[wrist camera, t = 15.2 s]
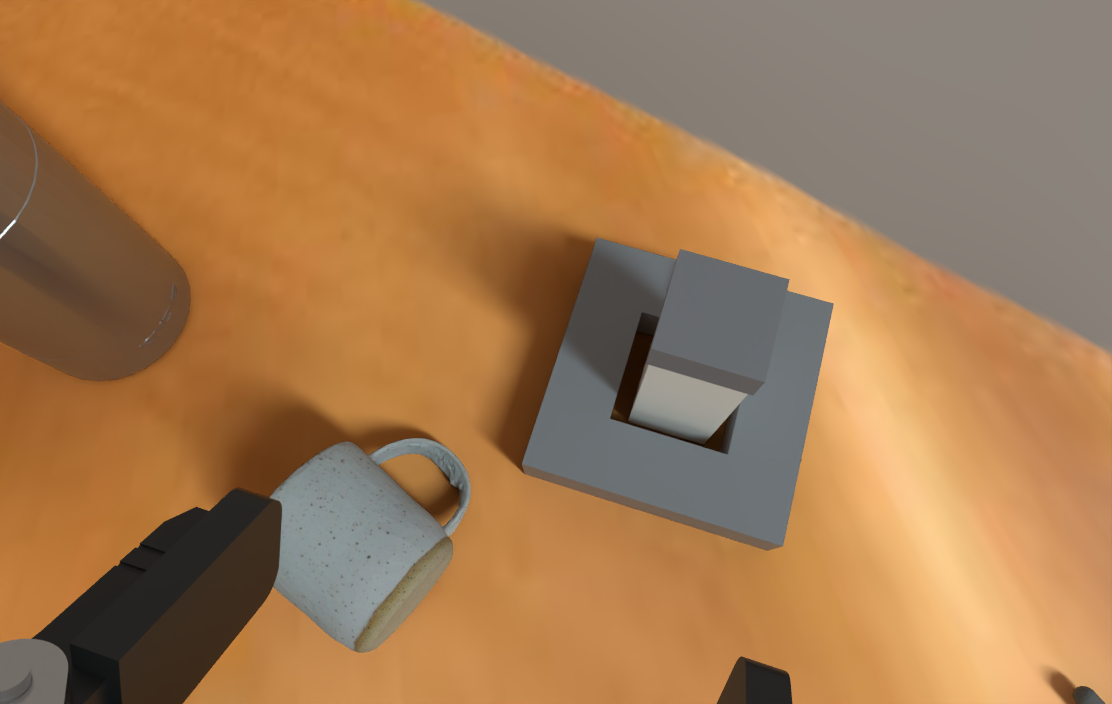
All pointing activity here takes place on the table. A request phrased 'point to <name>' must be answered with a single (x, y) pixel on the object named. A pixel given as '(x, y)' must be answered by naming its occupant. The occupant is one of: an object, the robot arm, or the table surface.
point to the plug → (708, 346)
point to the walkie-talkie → (1086, 696)
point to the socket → (660, 461)
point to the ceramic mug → (362, 540)
